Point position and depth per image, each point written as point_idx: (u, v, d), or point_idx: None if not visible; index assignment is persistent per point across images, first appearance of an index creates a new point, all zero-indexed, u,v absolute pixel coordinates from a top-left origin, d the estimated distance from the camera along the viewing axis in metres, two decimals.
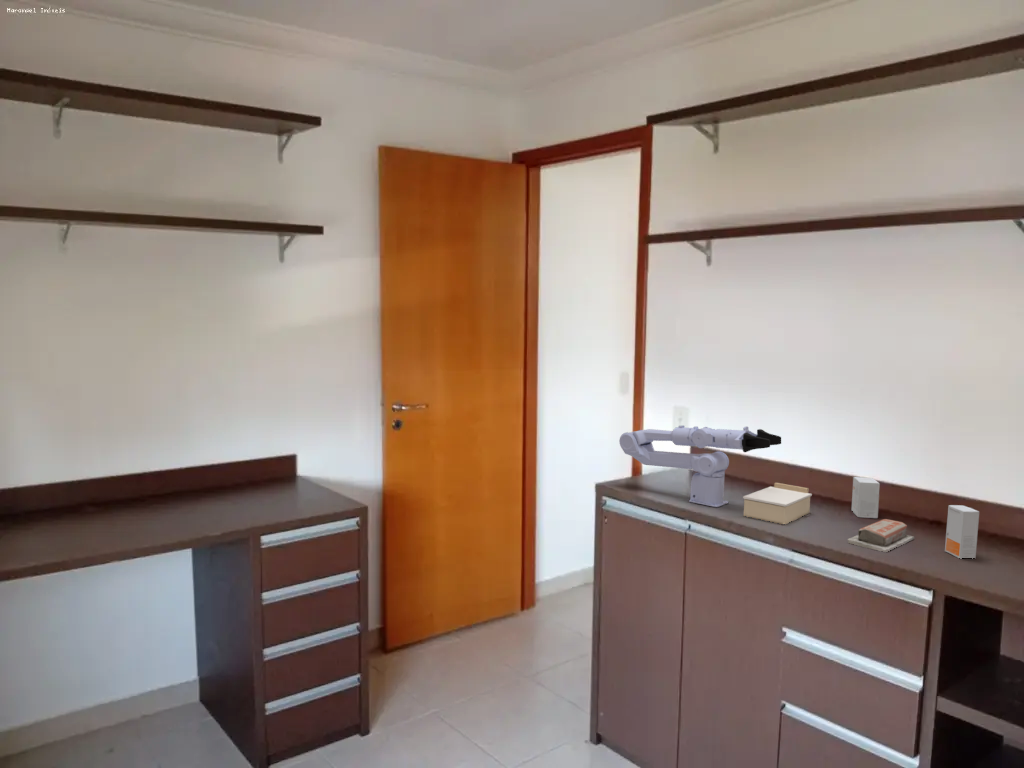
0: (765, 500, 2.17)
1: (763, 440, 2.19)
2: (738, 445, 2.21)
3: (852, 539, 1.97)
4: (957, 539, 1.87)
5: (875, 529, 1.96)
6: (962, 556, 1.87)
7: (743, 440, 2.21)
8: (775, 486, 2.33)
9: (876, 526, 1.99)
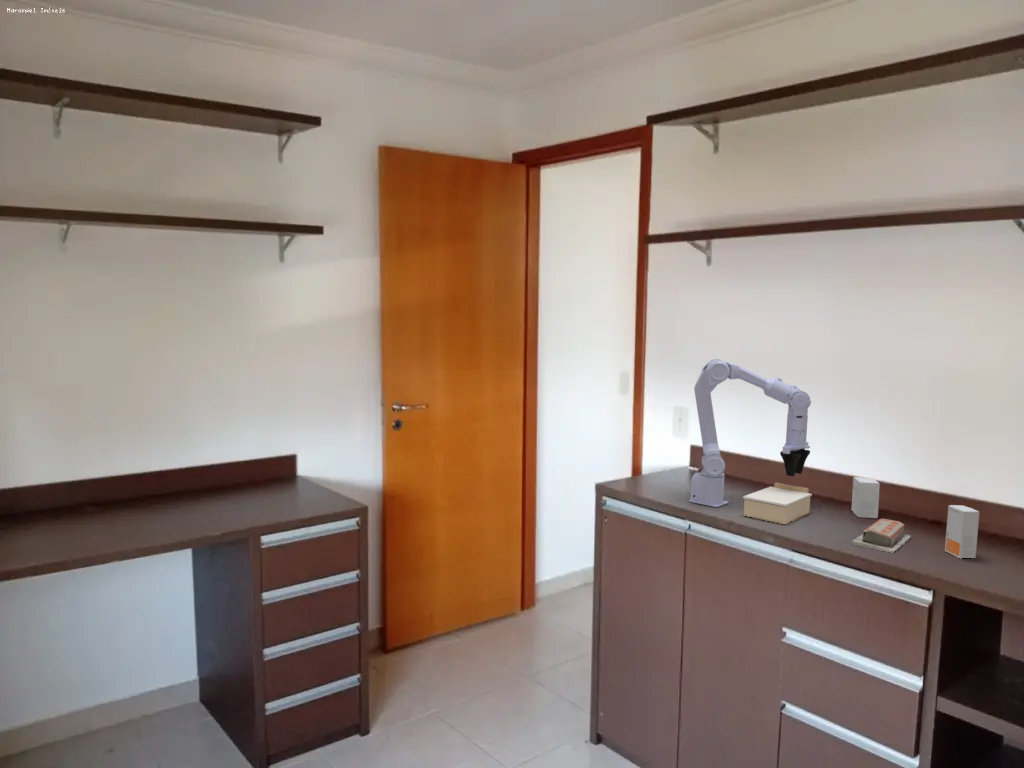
0: (765, 500, 2.17)
1: (792, 471, 2.28)
2: (783, 451, 2.25)
3: (857, 541, 1.96)
4: (957, 539, 1.87)
5: (879, 530, 1.96)
6: (962, 556, 1.87)
7: (791, 454, 2.26)
8: (775, 486, 2.33)
9: (878, 527, 1.98)
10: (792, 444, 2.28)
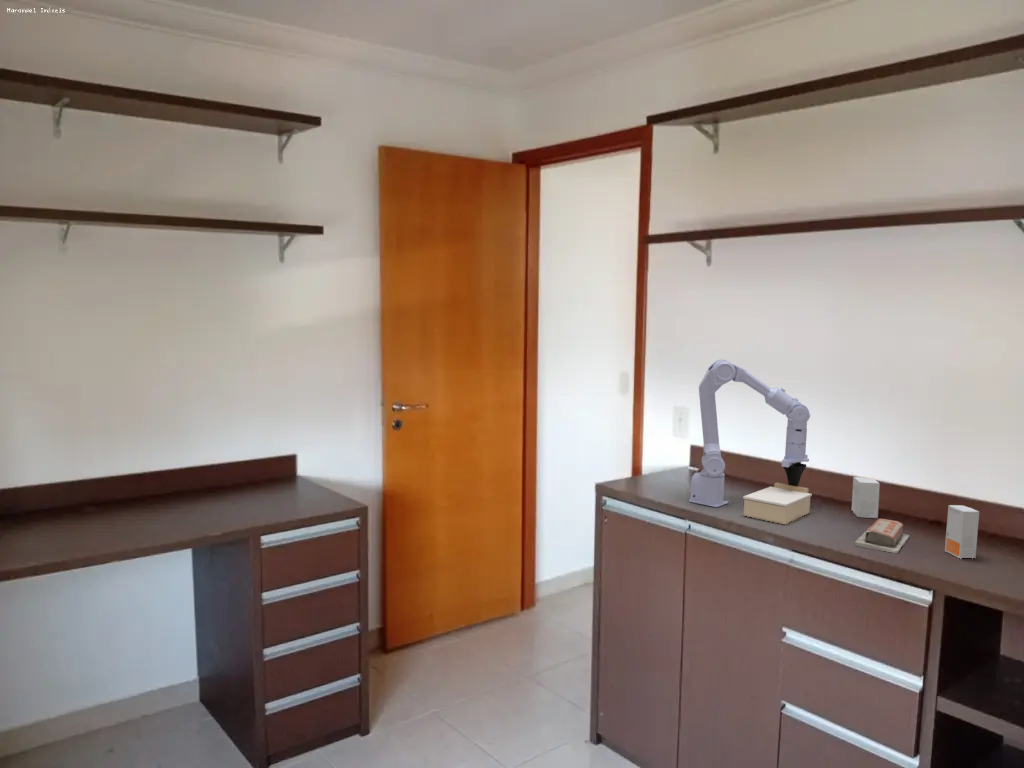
0: (765, 500, 2.17)
1: (795, 483, 2.30)
2: (782, 464, 2.26)
3: (859, 541, 1.95)
4: (957, 539, 1.87)
5: (881, 530, 1.95)
6: (962, 556, 1.87)
7: (793, 466, 2.28)
8: (775, 486, 2.33)
9: (879, 527, 1.98)
10: (791, 457, 2.28)
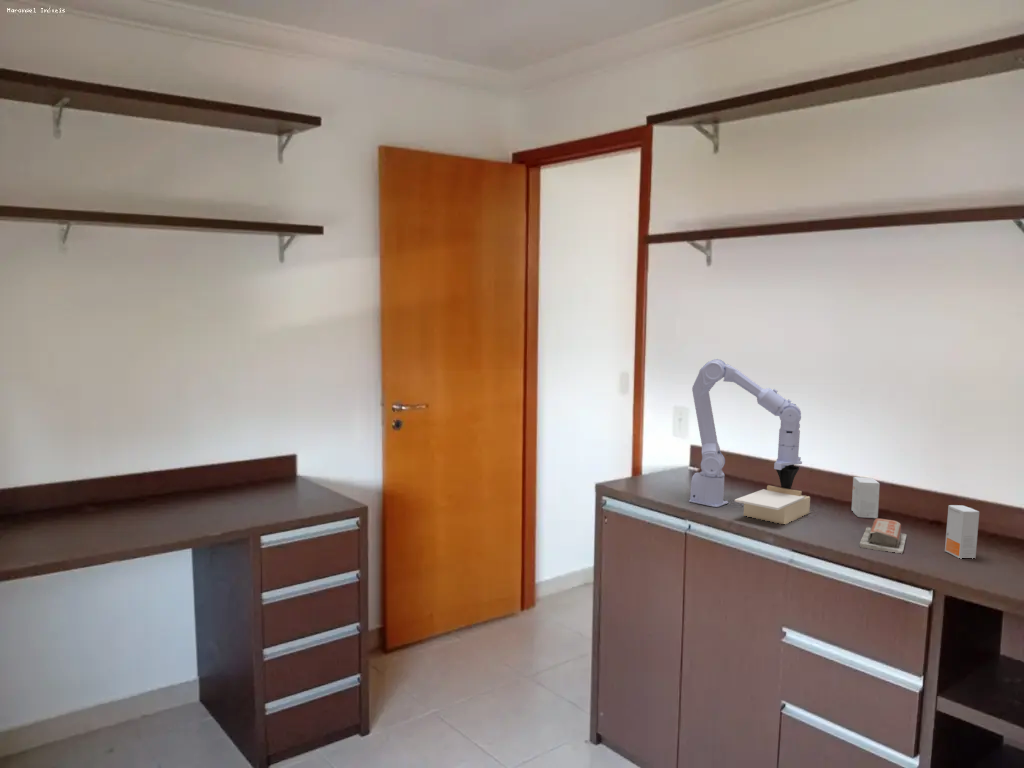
0: (757, 503, 2.13)
1: (787, 486, 2.26)
2: (775, 467, 2.22)
3: (863, 542, 1.95)
4: (957, 539, 1.87)
5: (884, 530, 1.95)
6: (962, 556, 1.87)
7: (786, 469, 2.24)
8: (768, 489, 2.29)
9: (881, 527, 1.98)
10: (784, 460, 2.24)
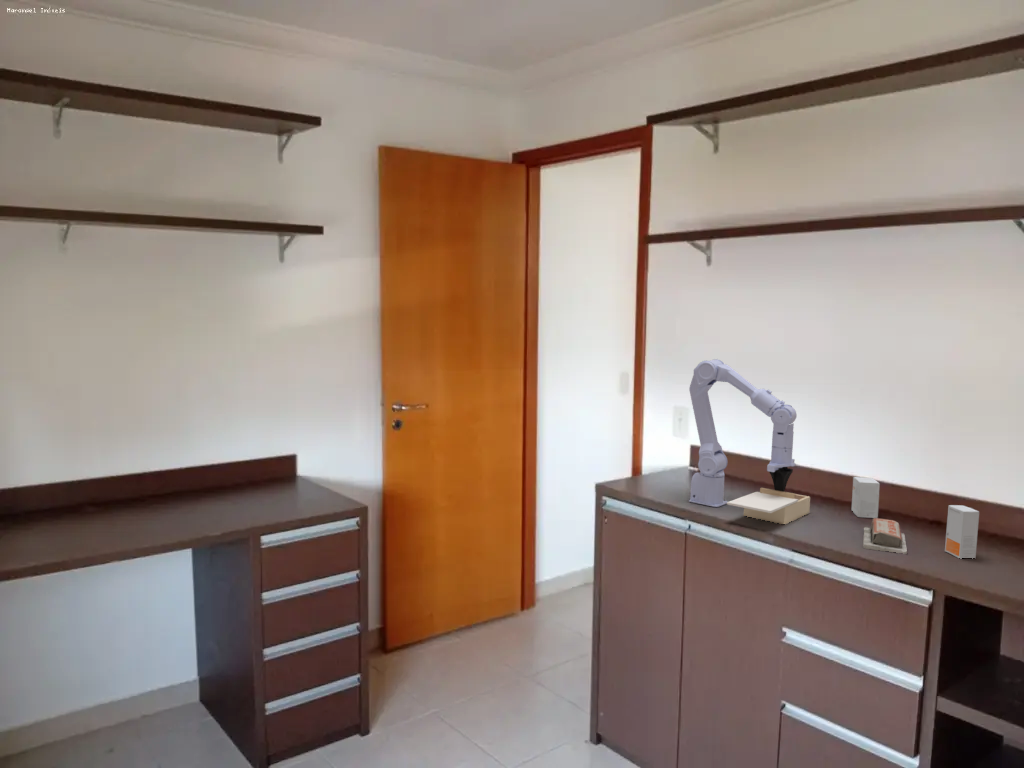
0: (749, 506, 2.09)
1: (781, 488, 2.23)
2: (768, 469, 2.18)
3: (867, 543, 1.94)
4: (957, 539, 1.87)
5: (886, 531, 1.95)
6: (962, 556, 1.87)
7: (779, 471, 2.21)
8: (761, 491, 2.26)
9: (882, 527, 1.98)
10: (777, 462, 2.21)
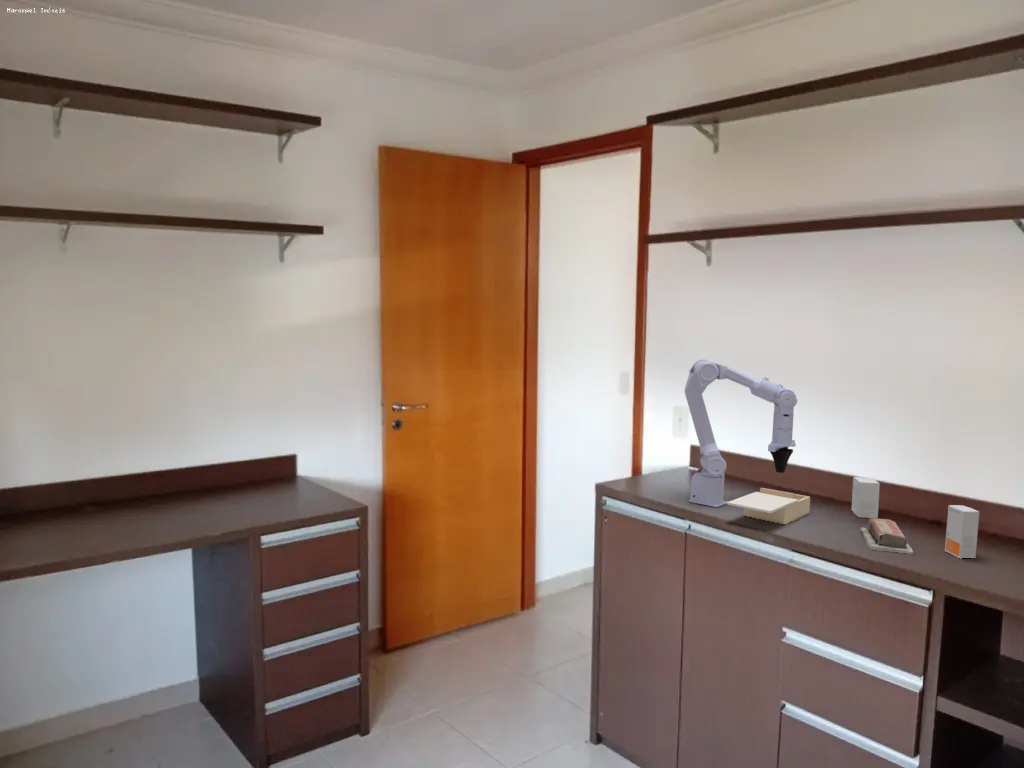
0: (749, 506, 2.09)
1: (782, 467, 2.32)
2: (769, 449, 2.28)
3: (873, 545, 1.93)
4: (957, 539, 1.87)
5: (890, 531, 1.94)
6: (962, 556, 1.87)
7: (780, 451, 2.31)
8: (761, 491, 2.26)
9: (885, 528, 1.97)
10: (778, 442, 2.31)
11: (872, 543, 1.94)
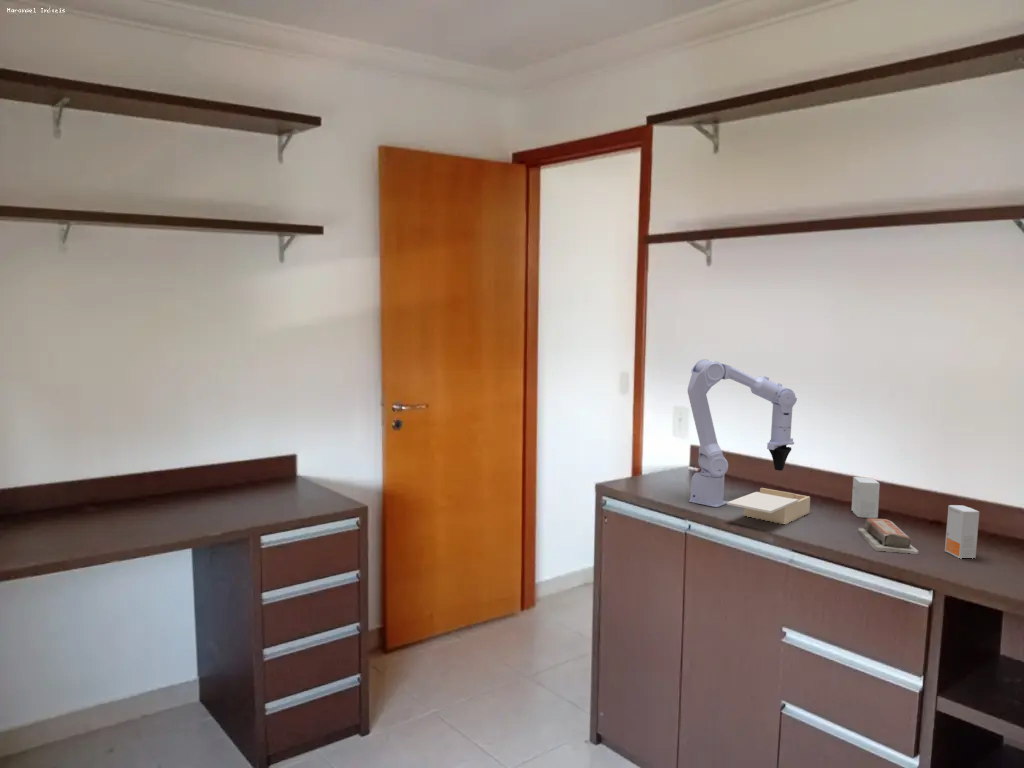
0: (749, 506, 2.09)
1: (780, 465, 2.36)
2: (768, 447, 2.32)
3: (879, 546, 1.92)
4: (957, 539, 1.87)
5: (894, 532, 1.94)
6: (962, 556, 1.87)
7: (778, 449, 2.34)
8: (761, 491, 2.26)
9: (887, 528, 1.97)
10: (777, 440, 2.34)
11: (877, 544, 1.94)
